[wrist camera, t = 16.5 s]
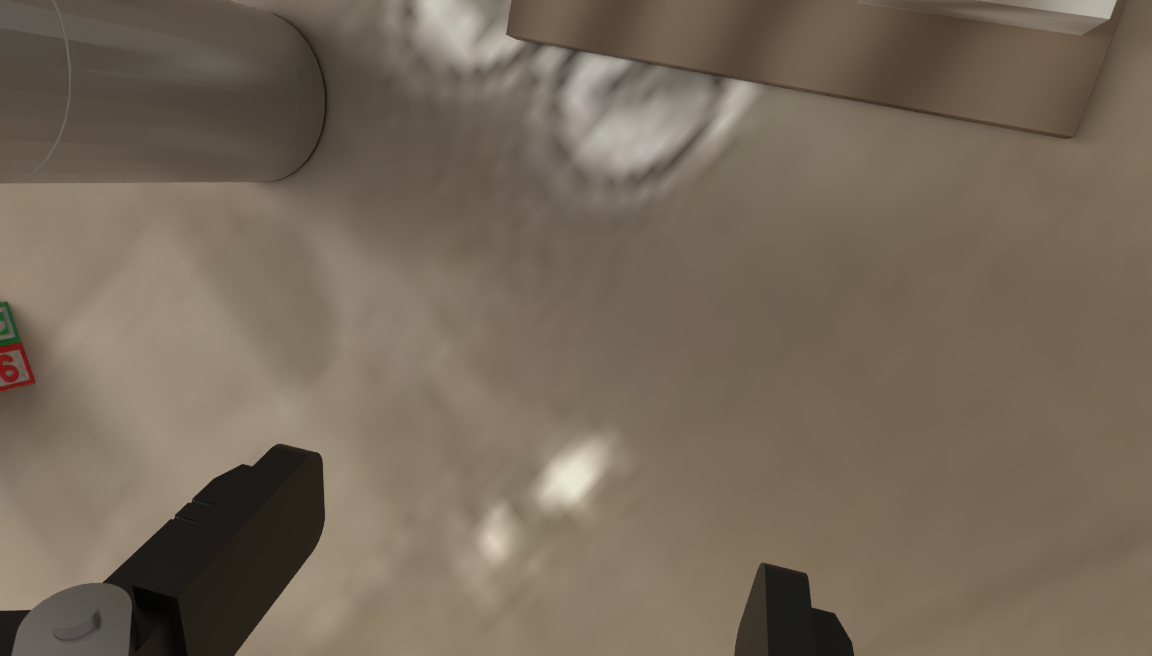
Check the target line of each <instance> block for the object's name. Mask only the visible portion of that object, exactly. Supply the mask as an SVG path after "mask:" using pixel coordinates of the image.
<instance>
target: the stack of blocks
mask: <svg viewBox="0 0 1152 656" xmlns="http://www.w3.org/2000/svg"><path fill="white" fill-rule="evenodd" d="M34 383H35V380H34V377H33V374H32V371H31V368H30V366H29V363H28V360H27V357H26V354H25V351H24V348H23V345H22V343H21V341H20V338H19V335H18V332H17V329H16V327H15V324H14V321H13V318H12V315H11V312H10V309H9V306H8V303H7V302H6V301H4V302H0V392H4V391H8V390H12V389H15V388H19V387H23V386H27V385H31V384H34Z"/></svg>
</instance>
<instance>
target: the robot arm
mask: <svg viewBox="0 0 1152 656" xmlns="http://www.w3.org/2000/svg"><path fill="white" fill-rule="evenodd" d="M324 114H325V92H324V86H323V79H322V75H321V72H320V69H319V66H318V63H317V60H316V57H315V56H314V54H313V52H312V50H311V48H310V46H309V44H308V43H307V41H306V40H305V39H304V38H303V36H302V35H301V34H300V33H299V32H298V30H297V29H296V28H294V27H293V26H292V25H291V24H289V23H288V22H287V21H286V20H284V19H283V18H280V17H278V16H276V15H274V14H272V13H270V12H266V11H263V10H259V9H256V8H253V7H249V6H246V5H242V4H239V3H236V2H232V1H229V0H0V184H1V183H145V182H270V181H274V180H278V179H282V178H284V177H286V176H288V175H290V174H291V173H293V172H295V171H296V170H297V169H298V168H299V167H300V166H301V165H302V164H303V163H304V162H305V161H306V160H307V159H308V157H309V156H310V154H311V153H312V151H313V150H314V148H315V146H316V143H317V141H318V138H319V136H320V133H321V130H322V125H323V120H324ZM324 521H325V507H324V483H323V462H322V457H321V455H320V454H319V453H317V452H313V451H309V450H305V449H300V448H296V447H292V446H288V445H284V444H277V445H275V446H273V447H272V448H271V449H270V450H269V451H268V452H267V453H266V454H265V455H264V456H263V457H262V458H261V459H260V460H259V461H258V462H257V463H256V464H255V465H254V466H253V467H252V466H248V465H244V464H242V465H240V466H238V467H236V468H234V469H232V470H230V471H228V472H226V473H224V474H222V475H220V476H218V477H216V478H214V479H213V480H212V481H211V482H210V483H209V484H208V485H207V486H206V487H204V488H203V489H202V490H201V491H200V492H199V493H198V494H197V495H196V496H195V497H194V498H193V500H192V502H191V503H187V504H186V505H185V506H184V507H183V508H182V509H181V510H180V511H179V512H178V513H177V514H176V515H175V518H174V519H173V520H172V519H170V520H169V521H168V522H167V523H166V524H165V525H164V526H163V527H162V528H161V529H160V530H159V531H157V532H156V533H155V534H154V535H153V536H152V537H151V538H150V539H149V540H148V541H147V542H146V543H145V544H144V545H143V546H141V547H140V548H139V549H138V550H137V551H136V552H135V553H134V554H133V555H132V556H131V557H130V558H129V559H128V560H127V561H125V562H124V563H123V564H122V565H121V566H120V567H119V568H118V569H117V570H116V571H115V572H114V573H113V574H112V575H111V576H109V577H108V578H107V579H106V580H105V581H104V582H103V583H89V584H82V585H78V586H74V587H71V588H68V589H65V590H63V591H60V592H58V593H56V594H54V595H52V596H50V597H49V598H47V599H45V600H44V601H42V602H41V603H40V604H38V605H37V606H36V607H35V608H33V609H32V610H17V611H0V656H234V655H235V654H236V652H237V651H238V650H239V648H240V647H241V646H242V644H243V643H244V642H245V640H246V639H247V638H248V636H249V635H250V634H251V632H252V631H253V630H254V629H255V627H256V626H257V625H258V623H259V622H260V621H261V619H262V618H263V617H264V615H265V614H266V613H267V611H268V610H269V609H270V607H271V606H272V605H273V603H274V602H275V601H276V599H277V598H278V597H279V595H280V594H281V593H282V592H283V590H284V589H285V588H286V586H287V585H288V584H289V582H290V581H291V580H292V578H293V577H294V576H295V574H296V573H297V572H298V570H299V569H300V568H301V566H302V565H303V564H304V562H305V561H306V560H307V558H308V557H309V556H310V555H311V553H312V552H313V550H314V549H315V547H316V545H317V543H318V541H319V539H320V537H321V534H322V530H323V527H324ZM734 656H854V652H853V646H852V642H851V640H850V638H849V637H848V635H847V633H846V632H845V630H844V628H843V627H842V625H841V623H840V622H839V620H838V618H837V616H836V615H835V613H831V612H827V611H823V610H819V609H815V608H812V607H811V598H810V589H809V581H808V576H807V574H806V573H803V572H799V571H795V570H791V569H787V568H783V567H779V566H775V565H771V564H767V563H761V564H760V566H759V568H758V570H757V573H756V576H755V580H754V583H753V586H752V589H751V592H750V595H749V598H748V601H747V604H746V607H745V610H744V613H743V616H742V619H741V622H740V626H739V630H738V634H737V639H736V646H735V654H734Z"/></svg>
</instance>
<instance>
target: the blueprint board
mask: <svg viewBox="0 0 1152 656" xmlns="http://www.w3.org/2000/svg"><path fill="white" fill-rule="evenodd" d="M1125 3H1126V0H512V3H511V9H510V15H509V21H508V27H507V33H506V35H508V36H510V37H513V38H515V39H518V40H523V41H529V42H534V43H540V44H545V45H551V46H556V47H562V48H567V49H573V50H579V51H584V52H590V53H595V54H601V55H606V56H612V57H617V58H623V59H628V60H634V61H639V62H645V63H650V64H656V65H661V66H667V67H672V68H678V69H683V70H689V71H694V72H700V73H705V74H711V75H716V76H722V77H727V78H733V79H739V80H744V81H750V82H755V83H761V84H766V85H772V86H777V87H783V88H788V89H794V90H799V91H805V92H810V93H816V94H821V95H827V96H832V97H838V98H843V99H849V100H854V101H860V102H865V103H871V104H876V105H882V106H887V107H893V108H899V109H904V110H910V111H915V112H921V113H926V114H932V115H937V116H943V117H948V118H954V119H959V120H965V121H970V122H976V123H981V124H987V125H992V126H998V127H1003V128H1009V129H1014V130H1020V131H1025V132H1031V133H1036V134H1042V135H1048V136H1053V137H1059V138H1064V139H1066V138H1072V137H1075V134H1076V132H1077V129H1078V127H1079V124H1080V121H1081V119H1082V116H1083V113H1084V111H1085V108H1086V106H1087V103H1088V100H1089V98H1090V95H1091V92H1092V90H1093V87H1094V84H1095V82H1096V79H1097V77H1098V74H1099V71H1100V69H1101V66H1102V63H1103V61H1104V58H1105V55H1106V53H1107V50H1108V48H1109V45H1110V42H1111V40H1112V37H1113V34H1114V32H1115V29H1116V26H1117V24H1118V21H1119V19H1120V16H1121V13H1122V11H1123V8H1124V5H1125Z"/></svg>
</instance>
